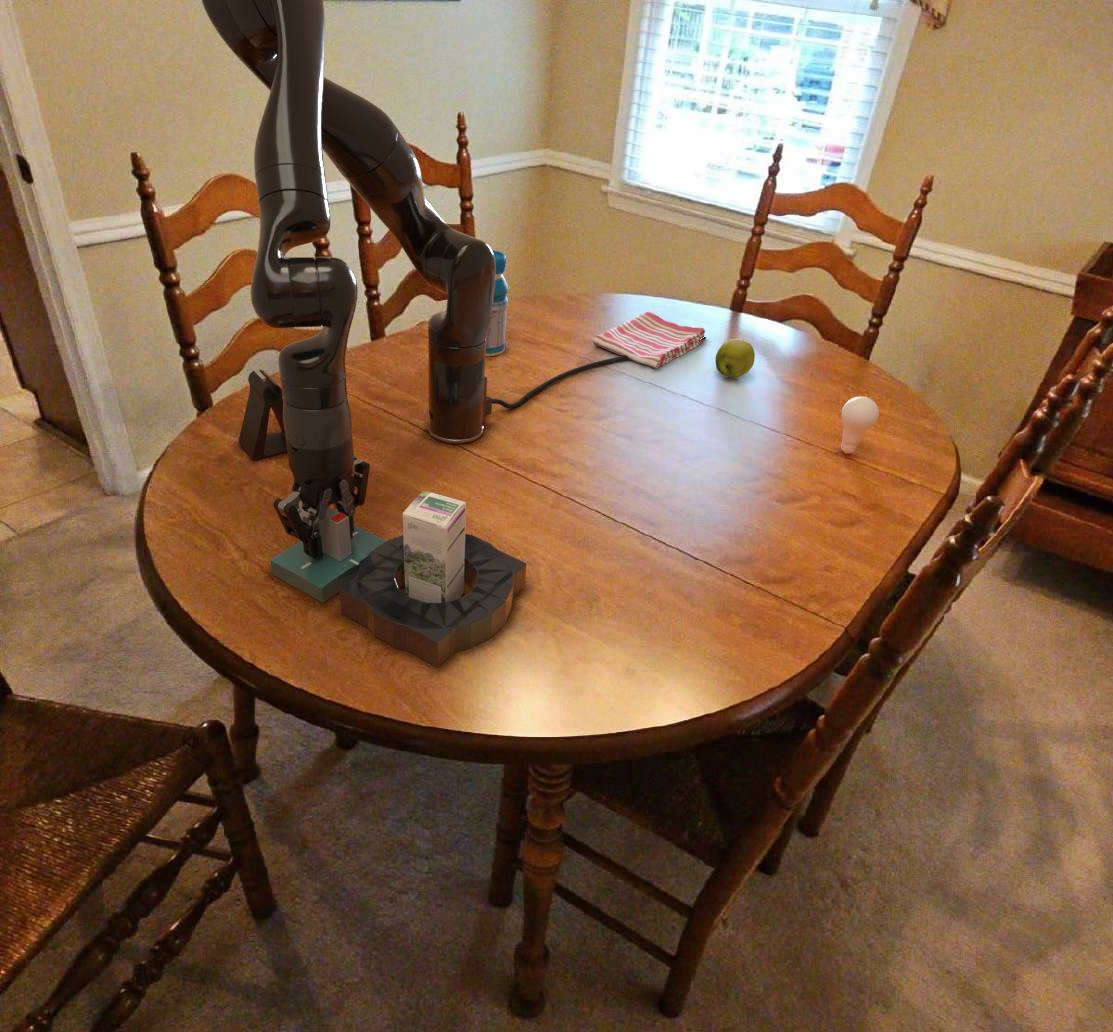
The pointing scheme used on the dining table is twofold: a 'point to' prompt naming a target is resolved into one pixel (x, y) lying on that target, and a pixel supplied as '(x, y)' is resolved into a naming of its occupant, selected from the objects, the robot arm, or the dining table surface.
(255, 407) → the phone stand
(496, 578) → the dark grey ring block
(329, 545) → the tap handle
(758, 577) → the dining table surface
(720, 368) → the apple
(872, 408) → the lightbulb
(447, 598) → the syrup box
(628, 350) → the dish towel
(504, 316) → the beverage bottle
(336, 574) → the block
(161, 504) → the dining table surface
